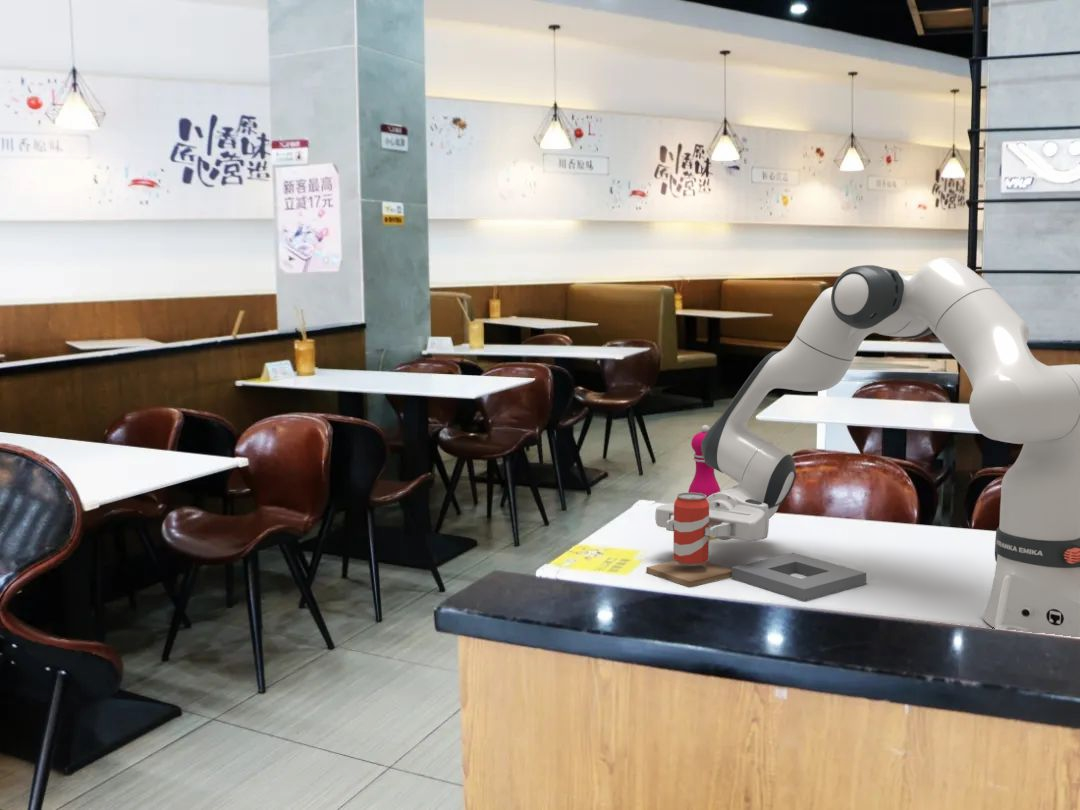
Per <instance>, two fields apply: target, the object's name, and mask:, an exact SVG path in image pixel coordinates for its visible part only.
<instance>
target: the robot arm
mask: <svg viewBox="0 0 1080 810" xmlns="http://www.w3.org/2000/svg"><path fill="white" fill-rule="evenodd" d="M875 333H876V334H878V335H882V336H885V337H886V336H887V337H888V336H889V337H898V338H903V339H916V338H917V339H918V338H923V337H926V336H928V335H931V334H932V333H933V334H934V335H935V337H936V338H937V339H938V340H939V341H940V342H941V343H942V344H943V346H944V347H945V348H946V349H947V350H948V352H949V353H950V354H951V355H952V356H953V357H954V359H955V360H956V361H957V363H958V364H959V366H961V367H962V369H963V371H964V372H965V374H966V375H967V378H968V379H969V382H970V384H971V387H972V391H971V394H970V397H969V398H970V399H969V403H968V404H969V407H968V408H969V414H970V419H971V421H972V424H973V425H974V426H975V428H976V429H977V430H978V432H979V433H981V434H982V435H983V436H984V437H986V438H988V439H990V440H993V441H999V442H1002V443H1003V442H1004V443H1010V444H1017V445H1022V448H1021V450H1020V453H1019V455H1018V457H1017V458H1016V460H1015V462H1014V463H1013V464H1012V465H1011V466H1010V467H1009V468H1008V469H1007V471H1006V472H1005V474H1004V475H1003V477H1002V480H1001V487H1000V488H1001V489H1000V504H999V507H1000V508H999V526H998V527H997V528H996V530H995V540H994V541H995V542H994V559H995V562H996V564H995V570H994V576H993V580H992V581H993V582H992V586H991V591H990V595H989V597H988V600H987V601H988V602H987V605H986V608H985V610H984V612H983V615H982V619H983V621H985V622H986V624H988V625H989V626H991V627H992V628H993V627H994V628H998V629H1005V630H1016V631H1023V632H1032V633H1045V634H1055V635H1063V636H1071V637H1080V364H1078V363H1077V364H1059V365H1058V364H1057V365H1055V364H1054V365H1047V364H1045V363H1042V362H1041V361H1039V360H1038V359H1036V357H1035V356H1034V355H1033V353H1032V352H1031V349H1030V348H1029V346H1028V340H1029V338H1030V337H1029V336H1030V330H1029V326H1028V324H1027V323H1026V322H1025V320H1024V319H1023V318H1022V317H1021V316H1020V315H1019V314H1018V313H1017V312H1016V311H1015V310H1014V309H1013V308H1012V307H1011V306H1010V305H1009V304H1008V303H1007V302H1006V300H1005V299H1003V297H1002V296H1001V295H1000V294H999V293H998V292H997V291H996V290H995V289H994V288H993V287H992V286H991V285H990V284H989V283H988V282H987V281H986V280H985V279H984V278H983V277H982V276H980V275H979V274H978V273H976V272H975V271H974V270H972V269H971V268H970V267H969V266H967V265H965V264H964V263H962V262H961V261H960V260H958V259H956V258H952V257H949V256H948V257H947V256H941V257H936V258H934V259H931V260H928V261H927V262H926V263H924V264H923V265H922V266H920V267H919V269H917V271H915V272H914V273H912V274H910V273H907V272H904V271H901V270H897V269H894V268H889V267H883V266H878V265H874V264H866V265H857V266H853V267H850V268H848V269H845V270H844V271H843V272H842V273H841V274H840V275H839V276H838V277H837V279H836V280H835V282H834V284H833V286H831V287H828V288H826V289H824V290H822V292H821V293H820V295H818V297H817V299H816V300H815V301H814V302H813V304H812V305H811V306H810V308H809V310H808V311H807V313H806V315H805V316H804V318H803V320H802V322H801V323H800V324H799V327H798V328H797V331H796V332H795V335H794V337H793V338H792V340H791V341H790V342H789V344H788V345H787V346H786V347H784V348H783V349H781V350H780V351H771V352H770V353H768V354H767V355H766V356H764V358H763V359H762V360H761V361H760V362H759V363H758V364H757V366H756V367H755V368H754V369H753V371H752V372H751V373H750V374H749V376H748V377H747V379H746V380H745V381H744V383H743V384H742V386H741V387H740V388H739V390H738V391H737V393H736V394H735V396H734V397H733V399H732V400H731V401H730V403H729V404H728V406H727V407H726V409H725V410H724V411H723V413H721V415H720V417H719V418H718V419H717V420H716V421H715V422H714V423H713V425H712V426H711V427H709V431H708V432H707V433H706V435H705V437H704V438H703V440H702V443H701V449H702V454H703V458H704V460H705V463H706V464H707V465H708V466H710V467H712V468H714V470H716V471H718V472H720V473H721V474H725V475H726V476H728V477H729V478H730V479H733V480H734V481H735V482H737V483H738V484H736V485H734V486H732V487H731V488H726V489H723V490H720V492H717V493H714V494H712V495H710V496H708V497H707V498H706V499H707V501H708V503H709V526H707V527H705V537H710V538H714V537H715V538H717V539H716V540H721V541H728V540H731V539H732V540H733V539H734V540H739V541H745V542H758V541H760V540H766V539H767V538H768V535H769V526H770V519H771V518H772V517H773V516H774V515H775V514H776V512H777V511H778V509H779V507H780V505H781V504H783V502H784V501H785V500H786V499H787V497H788V496H789V494H790V492H791V490H792V489H793V486H794V483H795V481H796V478H797V473H796V472H797V471H796V464H795V460H794V457H793V455H792V454H790V453H788V452H787V451H785V450H784V449H782V448H780V447H779V446H777V445H775V444H774V443H773V442H769V441H768V440H767V439H765V438H763V437H761V436H760V435H759V434H756V433H755V432H753V431H752V430H750V429H749V428H748V421H749V420H750V418H751V417H752V416H753V414H754V413H755V411H756V410H757V409H758V407H759V406H760V404H761V403H762V402H763V400H764V398H765V397H767V395H768V393H769V392H771V391H772V390H774V389H784V390H792V391H797V392H798V391H799V392H806V393H807V392H811V393H812V392H822V391H826V390H829V389H831V388H833V387H835V386H836V385H838V384H839V383H840V382H841V381H842V379H844V377H845V375H846V374H847V372H848V370H849V368H850V367H851V365H852V362H853V361H854V359H855V356H856V354H857V352H858V350H859V349H860V347H861V344H862V343H863V341H864V339H866V337H868V336H869V335H871V334H875ZM674 503H675V502H671V503H666V504H662V505H660V506H657V507H655V508H656V509H655V524H656V526H657V527H658V528H659V527H660V528H665V529H666V531H670V532H674ZM994 628H993V629H994Z"/></svg>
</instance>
